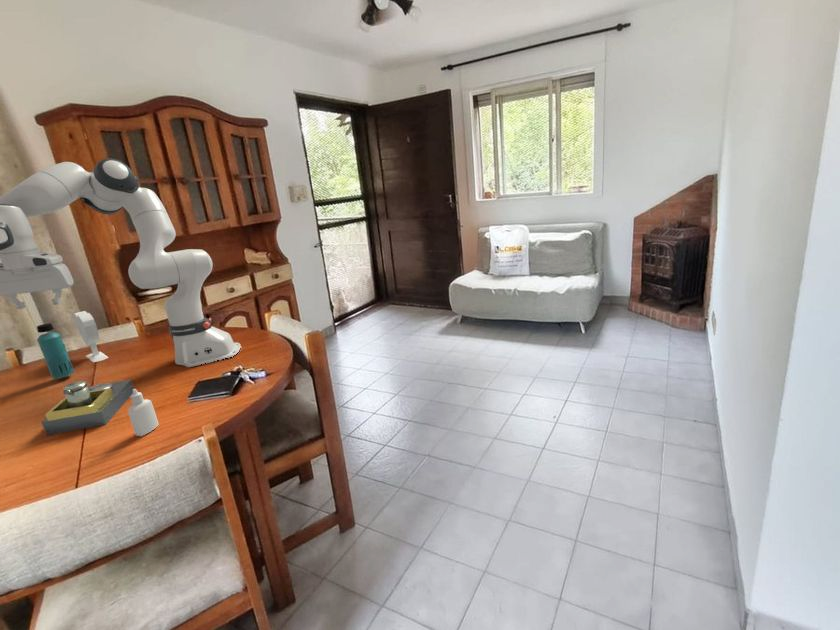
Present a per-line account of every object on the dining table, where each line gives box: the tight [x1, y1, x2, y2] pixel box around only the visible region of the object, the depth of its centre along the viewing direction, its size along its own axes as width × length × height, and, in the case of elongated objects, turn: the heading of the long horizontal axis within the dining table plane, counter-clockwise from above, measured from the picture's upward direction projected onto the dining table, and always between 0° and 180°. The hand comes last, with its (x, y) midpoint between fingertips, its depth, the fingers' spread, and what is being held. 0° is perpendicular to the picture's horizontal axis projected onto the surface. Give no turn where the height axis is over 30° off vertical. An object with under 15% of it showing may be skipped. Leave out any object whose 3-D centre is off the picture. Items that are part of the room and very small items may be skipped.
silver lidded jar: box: [62, 380, 93, 408], centre depth 115 cm, size 5×7×9 cm
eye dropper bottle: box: [128, 388, 159, 437], centre depth 108 cm, size 4×6×12 cm
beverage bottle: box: [36, 322, 75, 379], centre depth 144 cm, size 6×7×20 cm
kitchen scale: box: [41, 379, 135, 436], centre depth 121 cm, size 20×14×6 cm
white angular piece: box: [72, 310, 109, 363], centre depth 162 cm, size 16×5×18 cm, turn 49°
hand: (39, 306), depth 127 cm, fingers open, 8 cm apart
